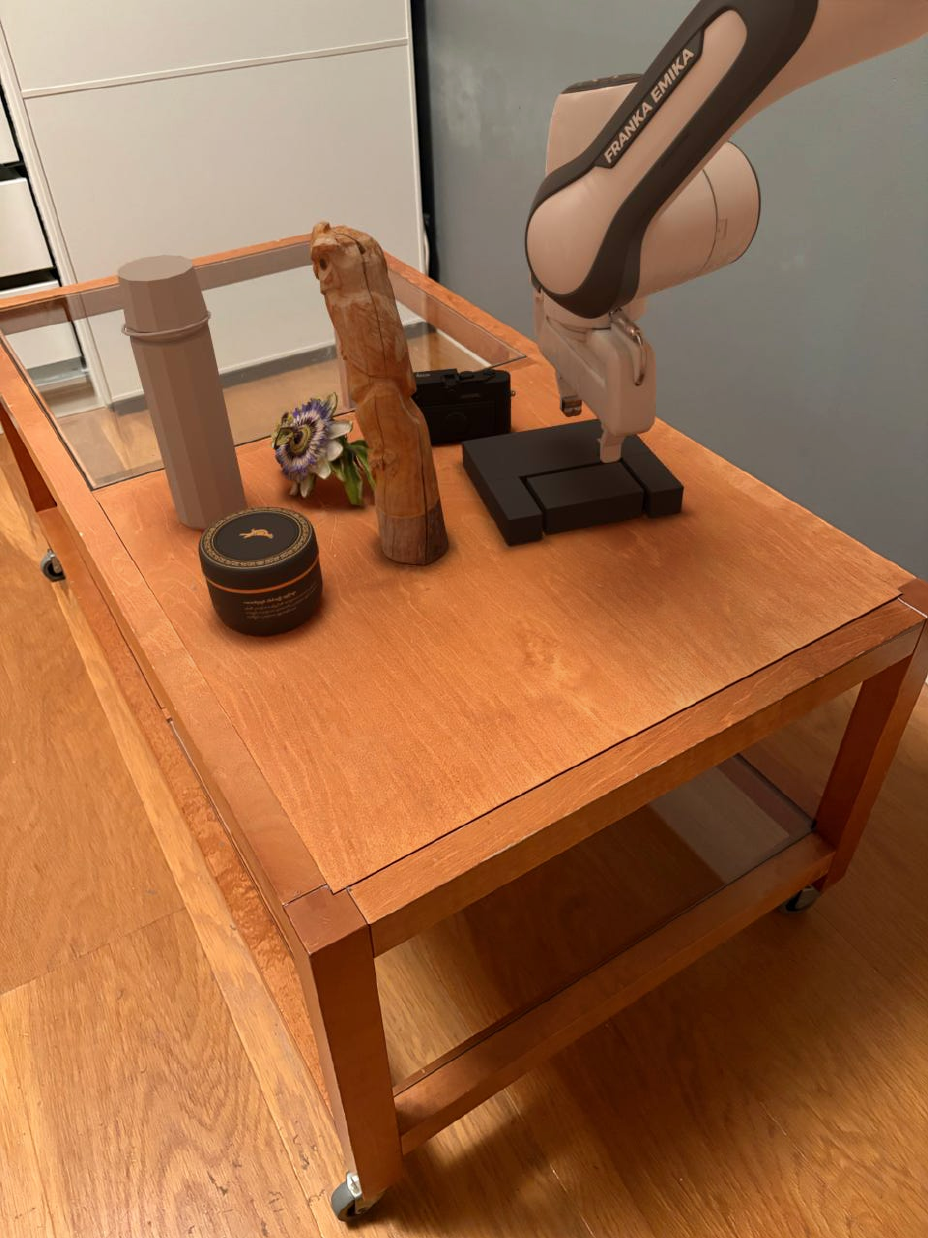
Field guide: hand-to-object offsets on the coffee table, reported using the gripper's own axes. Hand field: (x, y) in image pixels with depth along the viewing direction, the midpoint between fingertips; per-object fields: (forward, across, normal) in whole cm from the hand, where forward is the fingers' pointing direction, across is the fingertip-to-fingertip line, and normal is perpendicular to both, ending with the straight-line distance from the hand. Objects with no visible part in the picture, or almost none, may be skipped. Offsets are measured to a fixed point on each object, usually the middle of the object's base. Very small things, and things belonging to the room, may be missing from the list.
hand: (588, 435), depth 90 cm
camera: (+8, +20, +8) cm, 24 cm away
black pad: (+8, 0, 0) cm, 8 cm away
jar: (+8, -6, +32) cm, 34 cm away
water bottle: (+8, +12, +36) cm, 39 cm away
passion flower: (+8, +14, +23) cm, 28 cm away
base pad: (+8, +4, 0) cm, 10 cm away
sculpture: (+8, 0, +19) cm, 21 cm away
